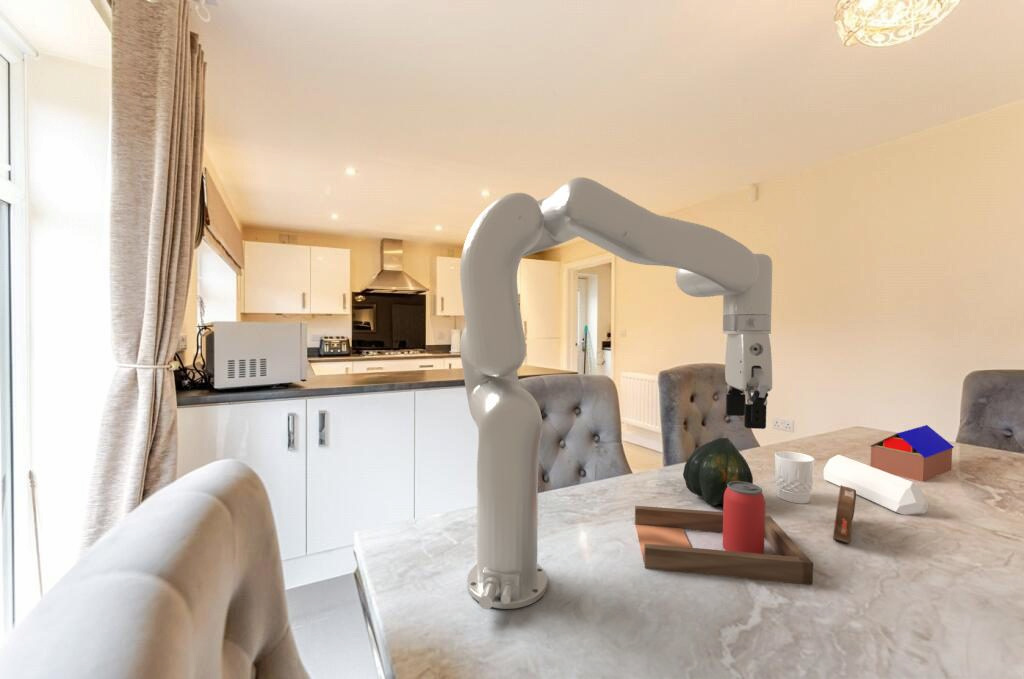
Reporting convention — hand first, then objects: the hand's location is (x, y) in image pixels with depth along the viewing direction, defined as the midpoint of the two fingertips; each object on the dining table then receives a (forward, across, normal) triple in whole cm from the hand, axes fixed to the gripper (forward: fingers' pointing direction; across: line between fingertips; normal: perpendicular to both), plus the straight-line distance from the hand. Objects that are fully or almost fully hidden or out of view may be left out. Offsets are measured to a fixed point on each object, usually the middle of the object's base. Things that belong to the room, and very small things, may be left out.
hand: (744, 421), depth 78 cm
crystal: (+25, +32, -39) cm, 57 cm away
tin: (+24, +10, -22) cm, 34 cm away
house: (+25, +55, -62) cm, 87 cm away
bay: (+24, 0, +6) cm, 24 cm away
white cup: (+24, +28, -20) cm, 42 cm away
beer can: (+24, 0, 0) cm, 24 cm away
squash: (+24, +24, -2) cm, 34 cm away
